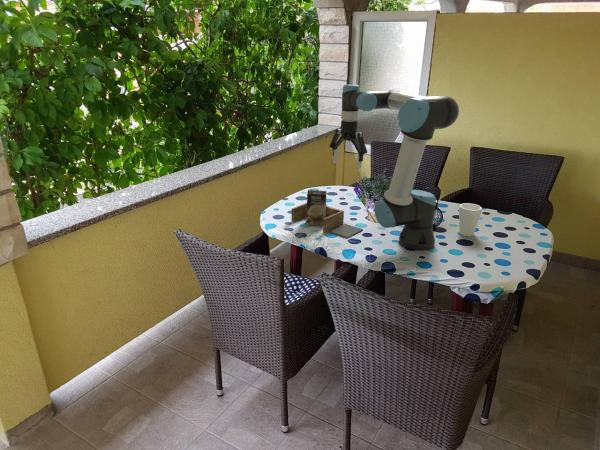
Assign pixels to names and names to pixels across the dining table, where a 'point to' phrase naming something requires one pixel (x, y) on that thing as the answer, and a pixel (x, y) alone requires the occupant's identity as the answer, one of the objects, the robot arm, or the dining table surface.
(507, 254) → the dining table surface
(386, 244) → the dining table surface
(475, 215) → the foam cup
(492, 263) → the dining table surface
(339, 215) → the wooden u-shaped bracket
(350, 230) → the coaster
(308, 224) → the coffee box
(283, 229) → the dining table surface
